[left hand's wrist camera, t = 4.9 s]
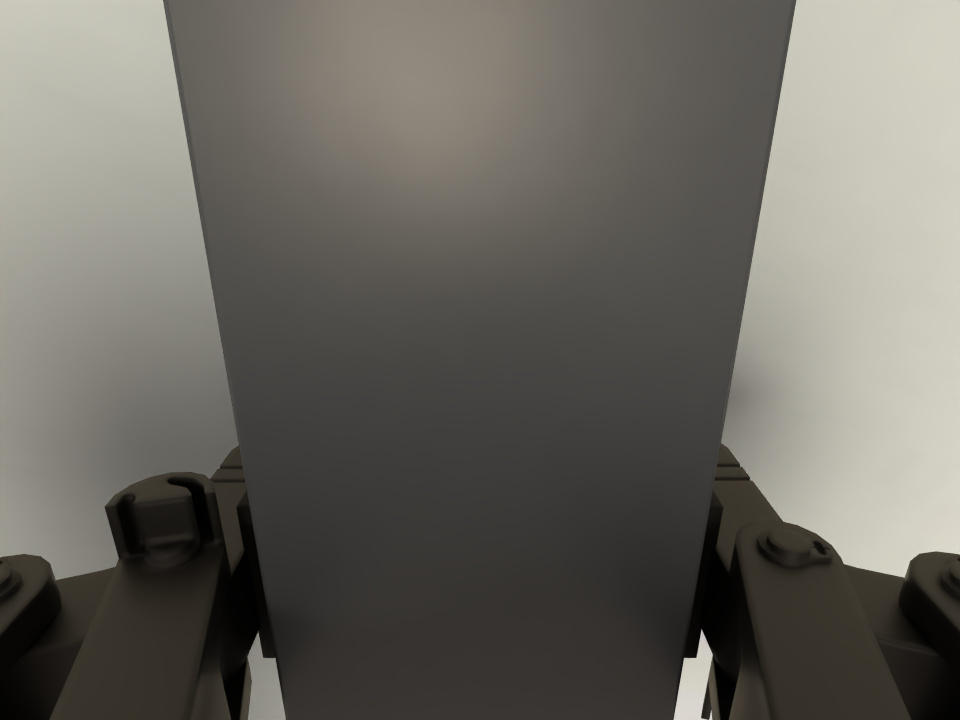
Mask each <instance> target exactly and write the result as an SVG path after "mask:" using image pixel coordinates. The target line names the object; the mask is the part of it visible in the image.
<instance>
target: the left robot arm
mask: <svg viewBox="0 0 960 720" xmlns="http://www.w3.org/2000/svg"><path fill="white" fill-rule="evenodd" d="M105 510H106V513H107V517H108V520H109V524H110V528H111V531H112V535H113V538H114V542H115V546H116V549H117V553H118V556H119V560H118V563H117V565H116V567H114V568H110V569H106V570H103V571H98V572H93V573H89V574H84V575H79V576H74V577H70V578H65V579H60V580H55V577H54V574H53V571H52V568H51V565H50V563H48V562H47V561H46V560H45V559H43V558H42V557H41V556H33V555H26V554H22V555H14V556H6V557H1V558H0V720H248V711H249V702H250V692H251V683H252V680H251V673H250V667H249V662H248V657H247V656H248V654H249V651H250V649H251V647H252V644H253V642H254V640H255V637H256V635H257V633H258V631H259V637H260V642H261V648H262V653H263V658H275V652H274V646H273V640H272V634H271V628H270V622H269V617H268V611H267V605H266V599H265V593H264V587H263V582H262V576H261V570H260V564H259V558H258V552H257V546H256V541H255V535H254V529H253V523H252V517H251V511H250V505H249V500H248V494H247V488H246V482H245V476H244V470H243V464H242V459H241V453H240V447H239V446H237V447H236V448H234V449H233V450H232V451H231V452H230V454H229V455H228V456H227V458H226V459H225V460H224V462H223V463H222V464H221V466H220V469H218V470H217V471H216V472H215V474H214V475H213V476H212V478H211V479H209V478H208V477H206V476H205V475H201V474H196V473H192V472H177V473H168V474H163V475H158V476H154V477H150V478H147V479H145V480H142V481H140V482H137V483H135V484H132V485H130V486H129V487H127V488H126V489H124V490H122V491H121V492H119V493H118V494H116V495H115V496H114V497H113V498H112V499H111V500H110V502H109V503H108V504H107V505H106V506H105ZM701 629H702V631H703V633H704V635H705V638H706V640H707V642H708V644H709V647H710V649H711V651H712V654H713V657H712V662H711V667H710V672H709V678H708V683H707V688H706V693H705V698H704V703H703V709H702V716H701V718H703V719H707V720H709V718H710V713H711V710H712V719H713V720H960V555H959V554H952V553H944V552H929V553H922V554H919V555H917V556H916V557H915V558H914V559H912V560H911V561H910V564H909V567H908V570H907V573H906V576H905V578H903V577H898V576H893V575H889V574H884V573H879V572H874V571H869V570H865V569H860V568H856V567H852V566H848V565H845V564H843V561H842V559H841V557H840V556H839V555H838V553H837V552H836V551H835V549H834V548H833V546H832V545H831V544H829V543H828V542H827V541H825V540H824V539H822V538H821V537H820V536H818V535H817V534H815V533H813V532H811V531H809V530H807V529H804V528H802V527H800V526H798V525H794V524H790V523H786V522H783V521H782V520H781V518H780V517H779V516H778V514H777V513H776V512H775V510H774V509H773V508H772V506H771V505H770V504H769V502H768V501H767V500H766V498H765V497H764V496H763V494H762V493H761V492H760V490H759V489H758V488H757V486H756V485H755V484H754V482H753V481H750V477H749V476H748V474H747V473H746V472H745V470H744V469H743V468H742V467H740V464H739V462H738V461H737V460H736V458H735V457H734V456H733V454H732V453H731V452H730V450H729V449H728V448H727V447H725V446H724V445H722V444H720V450H719V455H718V461H717V467H716V473H715V479H714V485H713V491H712V497H711V502H710V508H709V514H708V520H707V526H706V532H705V538H704V543H703V549H702V555H701V561H700V567H699V573H698V579H697V584H696V590H695V596H694V602H693V608H692V614H691V620H690V625H689V631H688V637H687V643H686V649H685V655H684V658H696V657H697V651H698V646H699V640H700V634H701Z"/></svg>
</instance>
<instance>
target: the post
mask: <svg viewBox="0 0 960 720" xmlns="http://www.w3.org/2000/svg"><path fill="white" fill-rule="evenodd" d="M163 2H164V8H165V14H166V20H167V26H168V31H169V37H170V43H171V49H172V55H173V61H174V67H175V72H176V78H177V84H178V90H179V96H180V102H181V107H182V113H183V119H184V125H185V131H186V137H187V143H188V148H189V154H190V160H191V166H192V172H193V178H194V184H195V189H196V195H197V201H198V207H199V213H200V219H201V225H202V230H203V236H204V242H205V248H206V254H207V260H208V265H209V271H210V277H211V283H212V289H213V295H214V301H215V306H216V312H217V318H218V324H219V330H220V336H221V342H222V347H223V353H224V359H225V365H226V371H227V377H228V383H229V388H230V394H231V400H232V406H233V412H234V418H235V423H236V429H237V435H238V441H239V447H240V453H241V459H242V464H243V470H244V476H245V482H246V488H247V494H248V500H249V505H250V511H251V517H252V523H253V529H254V535H255V541H256V546H257V552H258V558H259V564H260V570H261V576H262V582H263V587H264V593H265V599H266V605H267V611H268V617H269V622H270V628H271V634H272V640H273V646H274V652H275V658H276V663H277V669H278V675H279V681H280V687H281V693H282V699H283V704H284V710H285V716H286V720H673V719H674V713H675V708H676V702H677V696H678V690H679V684H680V678H681V672H682V667H683V661H684V655H685V649H686V643H687V637H688V631H689V625H690V620H691V614H692V608H693V602H694V596H695V590H696V584H697V579H698V573H699V567H700V561H701V555H702V549H703V543H704V538H705V532H706V526H707V520H708V514H709V508H710V502H711V497H712V491H713V485H714V479H715V473H716V467H717V461H718V455H719V450H720V444H721V438H722V432H723V426H724V420H725V414H726V409H727V403H728V397H729V391H730V385H731V379H732V373H733V368H734V362H735V356H736V350H737V344H738V338H739V332H740V327H741V321H742V315H743V309H744V303H745V297H746V291H747V285H748V280H749V274H750V268H751V262H752V256H753V250H754V244H755V239H756V233H757V227H758V221H759V215H760V209H761V203H762V198H763V192H764V186H765V180H766V174H767V168H768V162H769V156H770V151H771V145H772V139H773V133H774V127H775V121H776V115H777V110H778V104H779V98H780V92H781V86H782V80H783V74H784V69H785V63H786V57H787V51H788V45H789V39H790V33H791V28H792V22H793V16H794V10H795V4H796V0H163Z"/></svg>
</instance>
